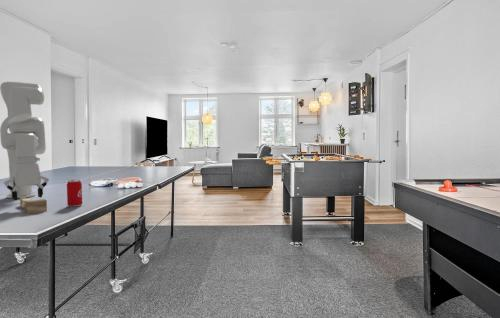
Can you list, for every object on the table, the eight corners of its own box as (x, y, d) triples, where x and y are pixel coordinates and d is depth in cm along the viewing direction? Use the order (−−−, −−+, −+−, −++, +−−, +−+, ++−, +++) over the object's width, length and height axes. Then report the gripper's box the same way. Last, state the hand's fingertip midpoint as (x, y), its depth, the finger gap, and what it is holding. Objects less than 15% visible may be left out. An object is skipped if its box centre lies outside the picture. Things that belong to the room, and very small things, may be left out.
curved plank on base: (14, 206, 154) (14, 196, 153) (32, 204, 159) (31, 194, 159) (28, 214, 141) (27, 202, 140) (46, 211, 146) (46, 199, 146)
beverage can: (85, 205, 159) (84, 180, 158) (75, 207, 153) (74, 181, 152) (74, 204, 160) (74, 179, 160) (64, 206, 155) (63, 181, 154)
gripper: (44, 159, 159) (46, 195, 160) (0, 161, 146) (2, 200, 147) (50, 160, 154) (52, 196, 155) (5, 162, 141) (7, 202, 142)
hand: (27, 198), depth 151 cm, fingers open, 9 cm apart
